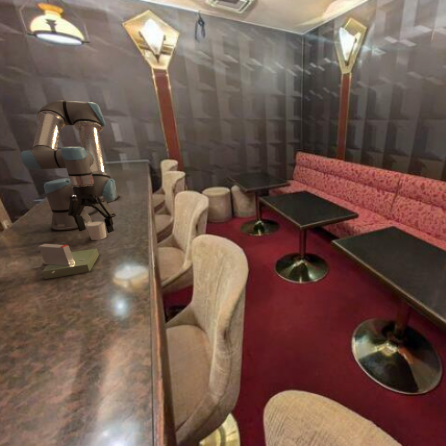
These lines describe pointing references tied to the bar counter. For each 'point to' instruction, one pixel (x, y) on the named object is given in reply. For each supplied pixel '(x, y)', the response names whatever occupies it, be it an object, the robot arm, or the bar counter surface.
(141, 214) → the bar counter surface
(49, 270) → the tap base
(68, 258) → the white flat box
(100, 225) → the white cylinder
